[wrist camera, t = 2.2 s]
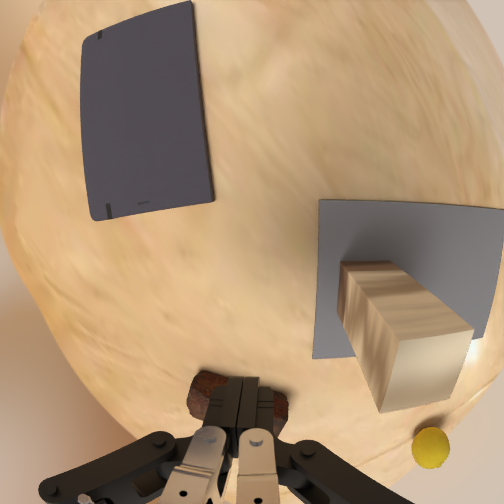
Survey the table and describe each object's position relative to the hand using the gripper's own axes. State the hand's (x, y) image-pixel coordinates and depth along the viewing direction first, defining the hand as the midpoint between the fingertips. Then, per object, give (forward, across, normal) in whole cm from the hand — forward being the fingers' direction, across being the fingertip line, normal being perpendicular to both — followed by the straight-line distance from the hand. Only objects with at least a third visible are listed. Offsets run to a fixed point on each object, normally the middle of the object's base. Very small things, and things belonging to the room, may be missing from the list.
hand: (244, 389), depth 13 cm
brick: (+15, +2, +13) cm, 20 cm away
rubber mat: (+14, -17, 0) cm, 22 cm away
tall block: (+14, -10, 0) cm, 17 cm away
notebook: (+15, +11, -18) cm, 26 cm away
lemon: (+15, -24, +24) cm, 37 cm away
